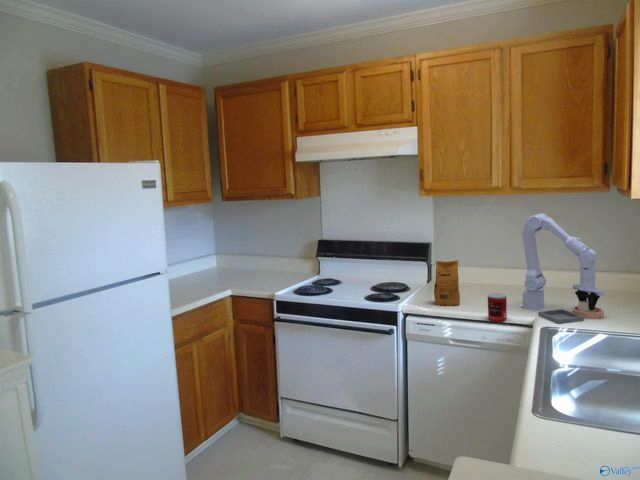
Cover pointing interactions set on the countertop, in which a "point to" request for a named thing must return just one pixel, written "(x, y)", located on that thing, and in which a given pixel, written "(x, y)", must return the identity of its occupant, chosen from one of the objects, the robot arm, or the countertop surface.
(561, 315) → the parts tray
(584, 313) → the bowl
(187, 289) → the countertop surface
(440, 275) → the coffee package
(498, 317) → the canned food
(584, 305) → the stone block
